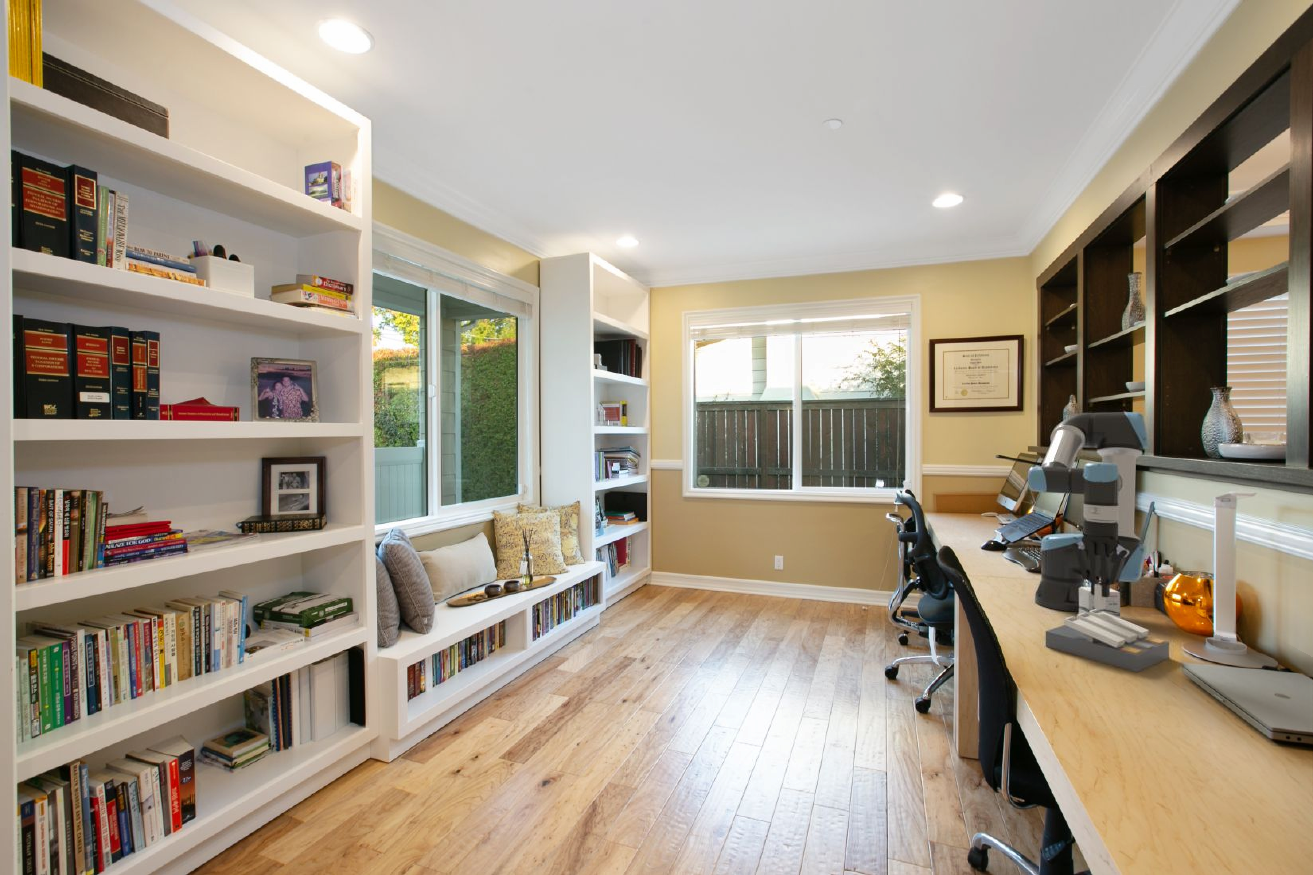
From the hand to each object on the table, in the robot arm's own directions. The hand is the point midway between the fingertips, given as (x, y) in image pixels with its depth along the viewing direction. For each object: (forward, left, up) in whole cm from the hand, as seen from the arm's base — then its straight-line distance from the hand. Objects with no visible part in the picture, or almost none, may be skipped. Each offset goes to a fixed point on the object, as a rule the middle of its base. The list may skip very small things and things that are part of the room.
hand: (1100, 608), depth 160 cm
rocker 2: (+6, +4, -3) cm, 8 cm away
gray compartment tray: (+6, +4, -9) cm, 12 cm away
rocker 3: (0, +4, -3) cm, 5 cm away
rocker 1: (+13, +4, -3) cm, 14 cm away
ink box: (-12, -5, -10) cm, 16 cm away
